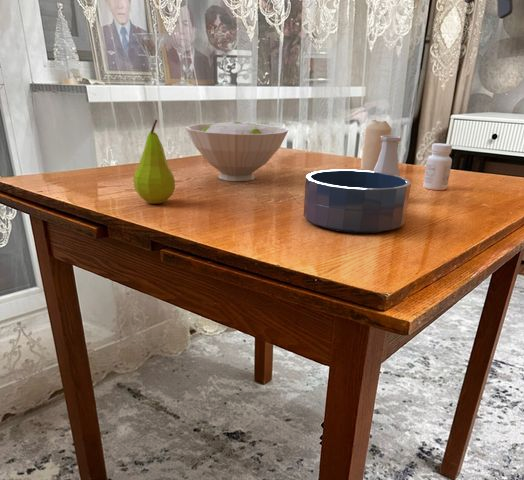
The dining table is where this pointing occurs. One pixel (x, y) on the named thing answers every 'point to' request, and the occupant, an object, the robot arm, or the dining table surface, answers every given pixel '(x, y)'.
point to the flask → (388, 155)
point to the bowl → (236, 146)
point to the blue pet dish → (356, 200)
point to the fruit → (154, 172)
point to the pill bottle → (438, 167)
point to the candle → (373, 143)
